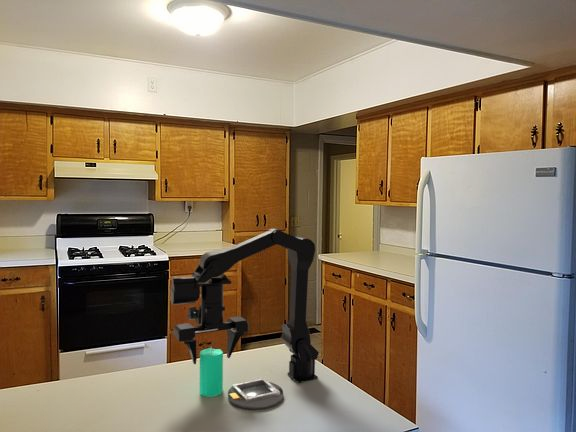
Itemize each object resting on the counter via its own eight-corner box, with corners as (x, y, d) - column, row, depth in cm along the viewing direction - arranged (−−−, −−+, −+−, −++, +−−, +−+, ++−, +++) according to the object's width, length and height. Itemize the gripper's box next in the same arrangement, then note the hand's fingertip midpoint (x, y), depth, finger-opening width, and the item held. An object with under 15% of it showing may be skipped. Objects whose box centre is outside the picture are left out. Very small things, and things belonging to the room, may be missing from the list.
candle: (218, 397, 112) (218, 351, 112) (195, 395, 113) (196, 349, 113) (226, 387, 118) (226, 343, 117) (204, 385, 119) (205, 341, 119)
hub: (267, 381, 123) (267, 373, 123) (292, 402, 111) (293, 393, 110) (219, 391, 116) (219, 383, 116) (241, 415, 104) (241, 406, 104)
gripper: (233, 291, 126) (233, 345, 127) (167, 298, 117) (167, 356, 118) (250, 300, 116) (249, 358, 117) (179, 308, 107) (179, 371, 108)
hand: (211, 360), depth 115 cm, fingers open, 9 cm apart
